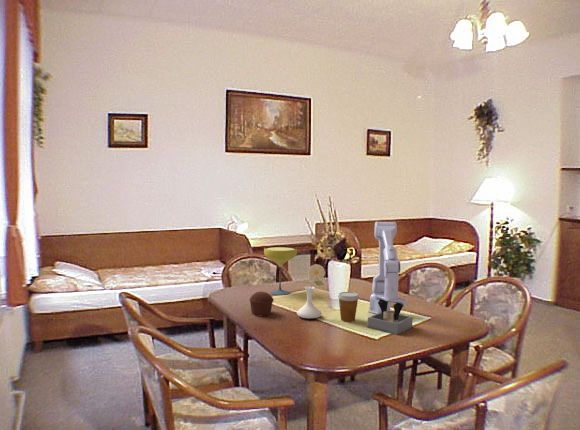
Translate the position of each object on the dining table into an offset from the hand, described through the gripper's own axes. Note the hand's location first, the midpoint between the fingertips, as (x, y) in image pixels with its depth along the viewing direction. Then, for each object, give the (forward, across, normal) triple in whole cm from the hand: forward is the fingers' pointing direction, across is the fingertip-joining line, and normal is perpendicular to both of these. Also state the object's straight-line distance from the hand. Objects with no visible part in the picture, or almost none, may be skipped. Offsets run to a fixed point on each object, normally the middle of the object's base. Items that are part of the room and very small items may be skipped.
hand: (390, 318), depth 208 cm
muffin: (+4, -56, -22) cm, 60 cm away
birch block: (+3, 0, 0) cm, 3 cm away
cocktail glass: (+4, -76, +14) cm, 77 cm away
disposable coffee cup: (+4, -20, -4) cm, 20 cm away
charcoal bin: (+4, 0, 0) cm, 4 cm away
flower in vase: (+4, -34, -12) cm, 37 cm away
